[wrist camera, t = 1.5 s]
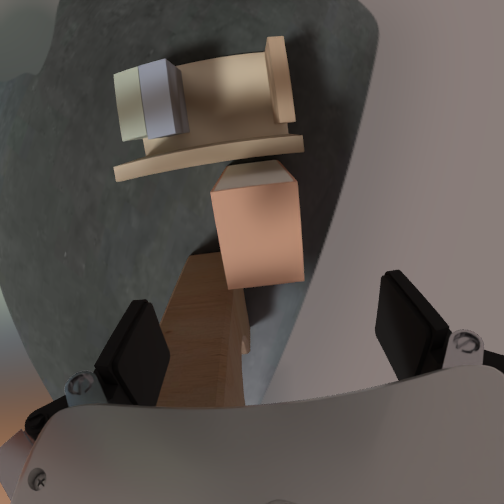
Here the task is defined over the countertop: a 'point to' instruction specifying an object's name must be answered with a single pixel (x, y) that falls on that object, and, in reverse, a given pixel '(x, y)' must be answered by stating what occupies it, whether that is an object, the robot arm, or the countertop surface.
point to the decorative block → (204, 337)
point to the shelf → (207, 110)
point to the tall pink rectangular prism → (258, 224)
